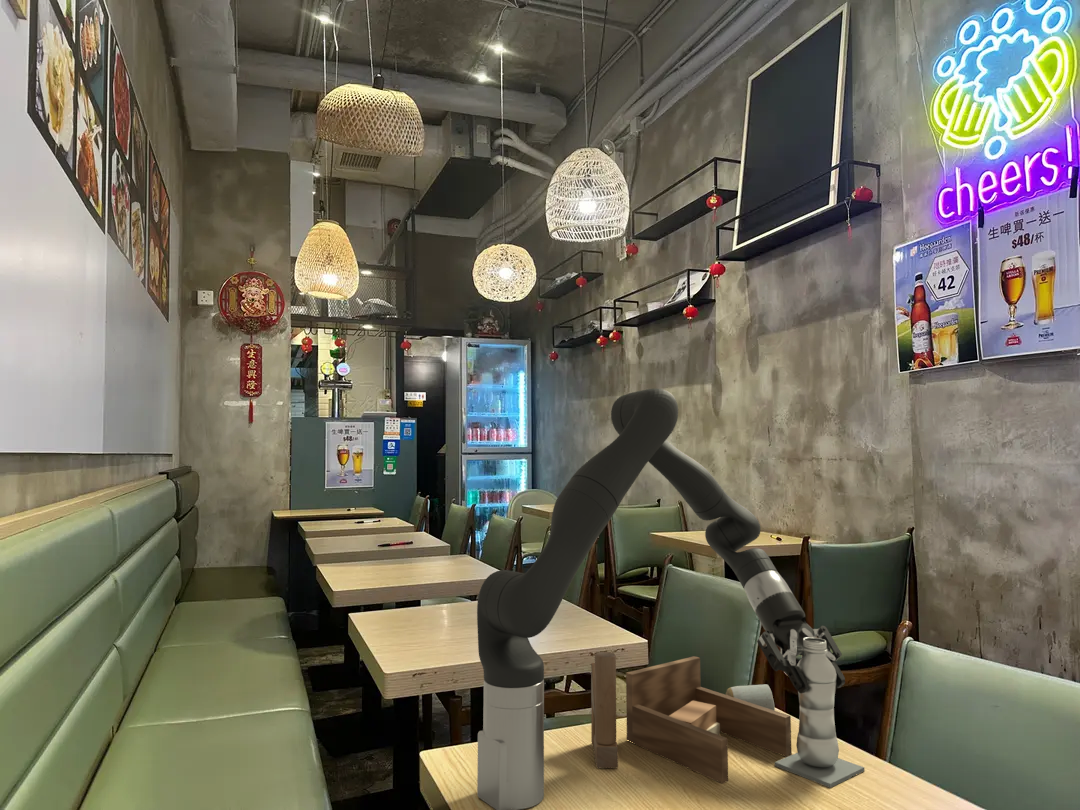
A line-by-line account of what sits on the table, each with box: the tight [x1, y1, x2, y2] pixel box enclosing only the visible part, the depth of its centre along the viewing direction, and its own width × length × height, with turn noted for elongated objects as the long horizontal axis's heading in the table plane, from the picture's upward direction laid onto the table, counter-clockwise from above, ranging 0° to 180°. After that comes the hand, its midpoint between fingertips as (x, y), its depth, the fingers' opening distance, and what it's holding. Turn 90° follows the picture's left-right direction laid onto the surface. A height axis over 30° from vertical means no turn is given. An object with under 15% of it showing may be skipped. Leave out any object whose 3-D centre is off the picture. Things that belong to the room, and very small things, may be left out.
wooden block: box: [590, 651, 619, 769], centre depth 123 cm, size 4×11×18 cm, turn 0°
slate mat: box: [774, 752, 865, 789], centre depth 117 cm, size 10×10×1 cm
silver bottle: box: [796, 638, 840, 767], centre depth 118 cm, size 6×7×20 cm
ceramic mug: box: [725, 684, 776, 711], centre depth 135 cm, size 11×8×8 cm
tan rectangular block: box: [669, 701, 721, 736], centre depth 127 cm, size 12×5×6 cm, turn 140°
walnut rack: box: [625, 656, 793, 784], centre depth 126 cm, size 18×22×12 cm
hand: (823, 687), depth 117 cm, fingers open, 7 cm apart
